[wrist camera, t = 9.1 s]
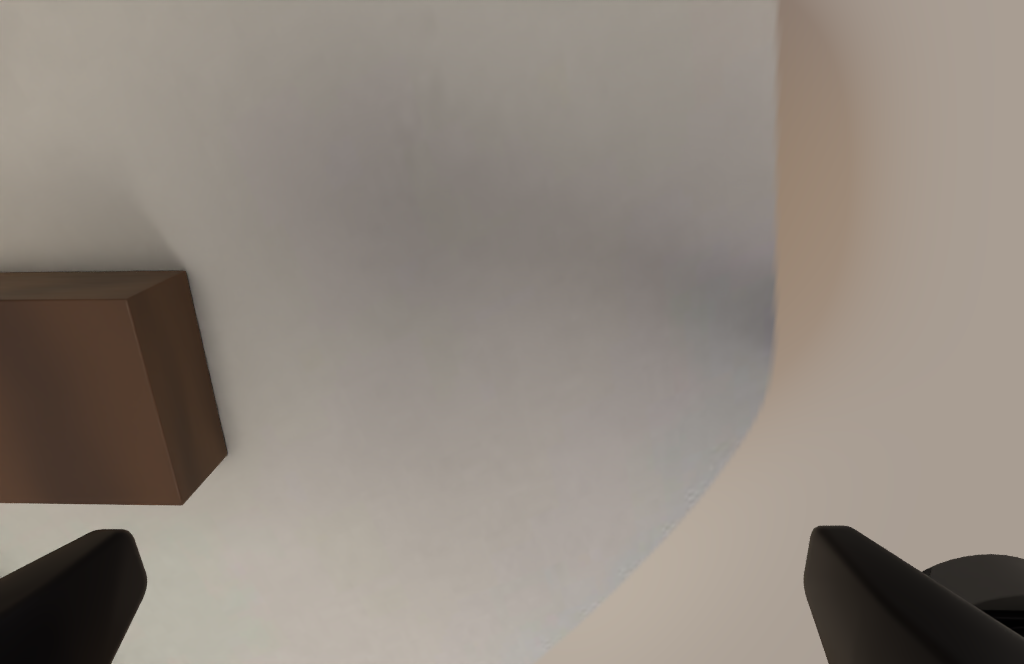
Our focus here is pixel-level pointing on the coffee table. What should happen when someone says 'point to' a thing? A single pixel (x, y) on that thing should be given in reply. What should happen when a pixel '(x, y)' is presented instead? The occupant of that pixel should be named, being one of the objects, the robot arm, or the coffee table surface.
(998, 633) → the robot arm
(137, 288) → the walnut block
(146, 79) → the coffee table surface
